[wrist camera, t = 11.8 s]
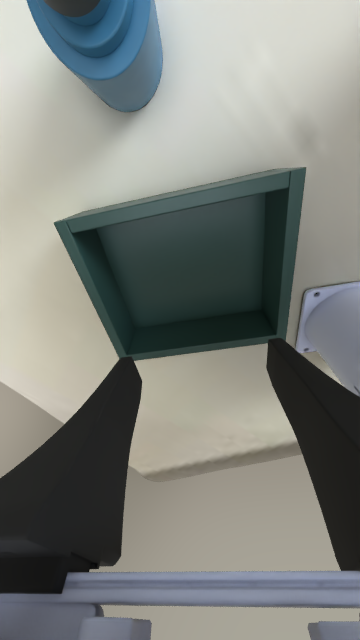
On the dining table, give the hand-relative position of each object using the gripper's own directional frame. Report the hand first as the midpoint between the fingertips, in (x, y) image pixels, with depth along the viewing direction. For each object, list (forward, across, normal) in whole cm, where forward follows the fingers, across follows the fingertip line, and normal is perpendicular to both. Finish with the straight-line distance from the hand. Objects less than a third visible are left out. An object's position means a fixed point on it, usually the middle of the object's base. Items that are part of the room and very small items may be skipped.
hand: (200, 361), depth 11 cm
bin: (+10, 0, -1) cm, 10 cm away
